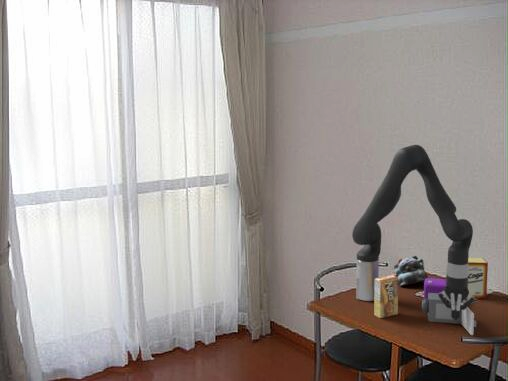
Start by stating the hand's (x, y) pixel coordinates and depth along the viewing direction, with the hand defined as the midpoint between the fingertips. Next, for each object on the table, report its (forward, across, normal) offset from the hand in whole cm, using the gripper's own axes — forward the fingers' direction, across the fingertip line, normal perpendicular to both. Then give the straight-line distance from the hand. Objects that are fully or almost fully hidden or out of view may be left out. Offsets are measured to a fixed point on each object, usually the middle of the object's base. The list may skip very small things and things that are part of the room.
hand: (455, 319), depth 201 cm
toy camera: (+5, -10, +27) cm, 29 cm away
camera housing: (+4, -6, +9) cm, 11 cm away
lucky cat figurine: (+5, -23, +46) cm, 51 cm away
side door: (+4, +4, +1) cm, 6 cm away
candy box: (+5, -26, +5) cm, 27 cm away
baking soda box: (+5, +4, +39) cm, 40 cm away
